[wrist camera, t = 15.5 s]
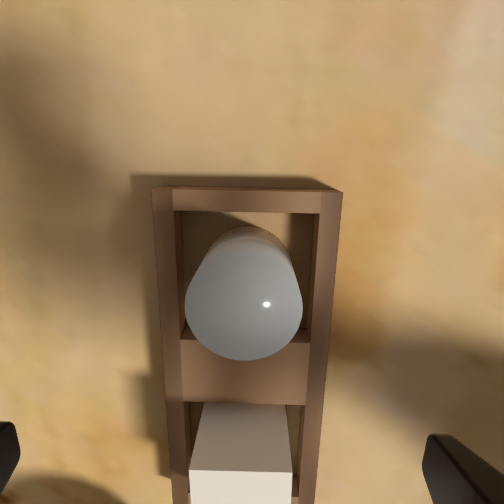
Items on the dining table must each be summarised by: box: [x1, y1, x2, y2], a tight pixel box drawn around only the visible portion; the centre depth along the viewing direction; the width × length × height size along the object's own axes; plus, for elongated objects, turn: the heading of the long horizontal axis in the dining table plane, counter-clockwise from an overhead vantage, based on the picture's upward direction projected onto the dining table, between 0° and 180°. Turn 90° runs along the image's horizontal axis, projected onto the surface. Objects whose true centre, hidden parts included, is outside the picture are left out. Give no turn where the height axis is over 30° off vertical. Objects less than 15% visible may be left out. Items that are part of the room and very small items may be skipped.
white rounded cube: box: [189, 402, 292, 504], centre depth 19 cm, size 5×5×5 cm
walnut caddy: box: [151, 186, 343, 504], centre depth 19 cm, size 9×20×2 cm, turn 179°
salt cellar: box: [185, 226, 303, 361], centre depth 16 cm, size 5×5×5 cm
